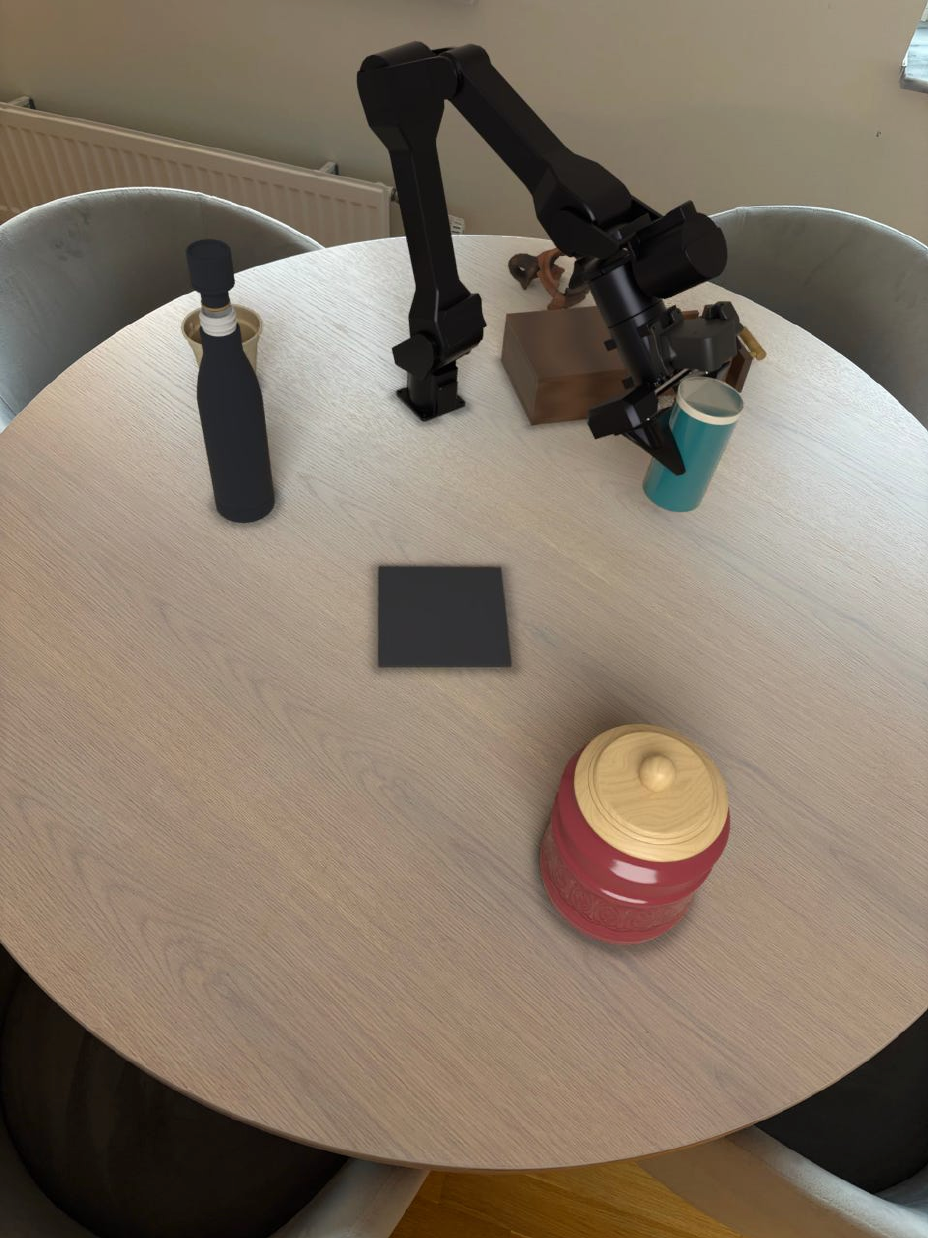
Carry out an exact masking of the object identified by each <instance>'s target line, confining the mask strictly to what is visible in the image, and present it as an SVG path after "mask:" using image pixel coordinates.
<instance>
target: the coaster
mask: <svg viewBox="0 0 928 1238" xmlns="http://www.w3.org/2000/svg"><path fill="white" fill-rule="evenodd" d="M377 589H378V596H377V597H378V602H377V603H378V608H377V609H378V610H377V611H378V614H377V616H378V617H377V618H378V619H377V625H378V626H377V627H378V628H377V629H378V631H377V632H378V634H377V635H378V636H377V638H378V639H377V641H378V643H377V645H378V649H377V653H378V654H377V656H378V657H377V658H378V659H377V662H378V665H377V667H378V668H512V657H511V647H510V638H509V630H508V621H507V620H508V619H507V611H506V603H505V592H504V584H503V574H502V567H499V566H498V567H496V566H495V567H492V566H491V567H490V566H486V567H483V566H482V567H481V566H479V567H478V566H477V567H475V566H378V588H377Z"/></svg>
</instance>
